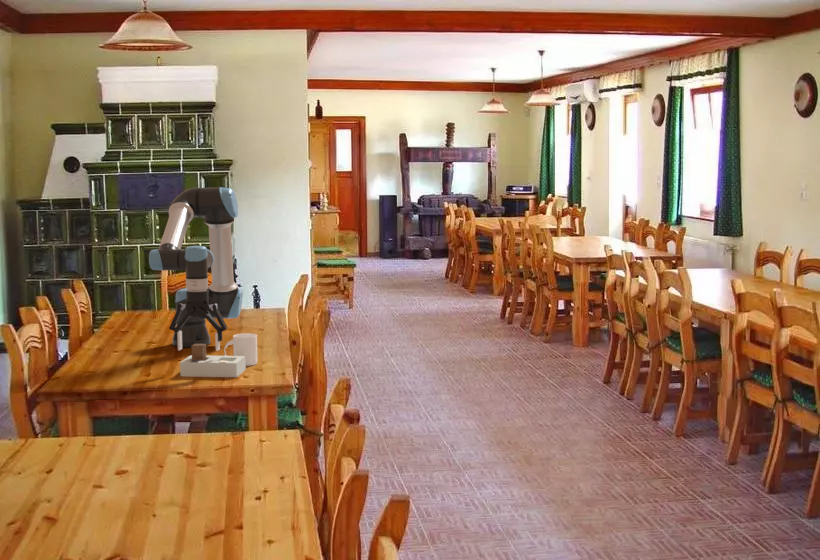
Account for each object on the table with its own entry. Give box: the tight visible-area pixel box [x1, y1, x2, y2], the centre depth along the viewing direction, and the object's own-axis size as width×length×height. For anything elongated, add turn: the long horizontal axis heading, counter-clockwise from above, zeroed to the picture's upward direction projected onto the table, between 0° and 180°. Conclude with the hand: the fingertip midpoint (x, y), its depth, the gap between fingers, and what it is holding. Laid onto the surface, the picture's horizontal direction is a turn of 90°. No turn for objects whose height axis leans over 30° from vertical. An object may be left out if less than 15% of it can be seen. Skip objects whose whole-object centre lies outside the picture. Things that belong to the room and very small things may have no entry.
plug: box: [191, 344, 207, 361], centre depth 337 cm, size 4×4×9 cm
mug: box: [223, 332, 258, 367], centre depth 351 cm, size 9×12×11 cm
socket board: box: [179, 354, 247, 378], centre depth 337 cm, size 12×20×5 cm, turn 85°
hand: (198, 350), depth 337 cm, fingers open, 13 cm apart
